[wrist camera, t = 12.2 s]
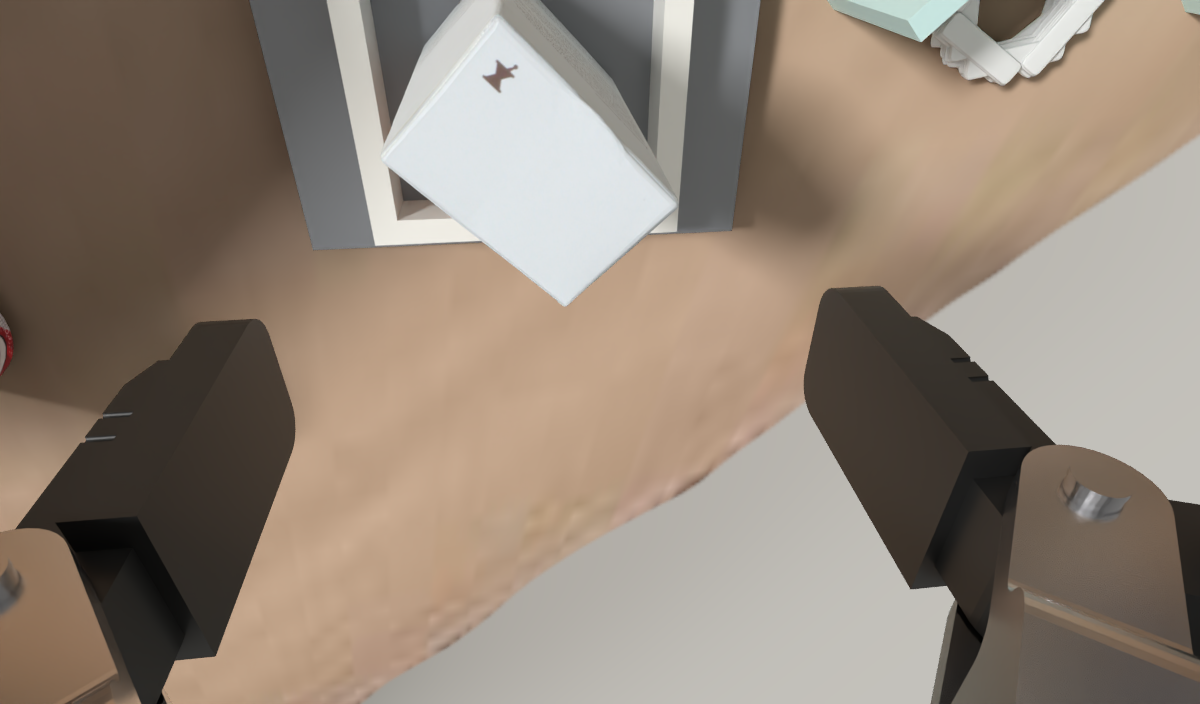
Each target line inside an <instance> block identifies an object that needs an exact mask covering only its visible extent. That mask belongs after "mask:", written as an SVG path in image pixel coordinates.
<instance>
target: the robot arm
mask: <svg viewBox="0 0 1200 704" xmlns="http://www.w3.org/2000/svg"><path fill="white" fill-rule="evenodd" d="M804 394H805V400H806V404H807V407H808V410H809V413H810V415H811V416H812V418H813V420H814V422H815V423H816V425H817V427H818V429H819V430H820V432H821V434H822V435H823V437H824V439H825V441H826V443H827V444H828V446H829V448H830V450H831V451H832V453H833V455H834V456H835V458H836V460H837V461H838V463H839V465H840V467H841V469H842V471H843V472H844V474H845V476H846V477H847V479H848V481H849V483H850V484H851V486H852V488H853V490H854V491H855V493H856V495H857V497H858V498H859V500H860V502H861V504H862V505H863V507H864V509H865V511H866V512H867V514H868V516H869V518H870V519H871V521H872V523H873V525H874V526H875V528H876V530H877V532H878V533H879V535H880V537H881V539H882V540H883V542H884V544H885V545H886V547H887V549H888V551H889V553H890V554H891V556H892V558H893V559H894V561H895V563H896V565H897V566H898V568H899V570H900V572H901V573H902V575H903V577H904V578H905V580H906V582H907V584H908V585H909V587H910V589H919V588H929V587H939V586H947V587H948V588H949V590H950V591H951V593H952V594H953V596H954V598H955V601H954V603H953V605H952V607H951V609H950V611H949V614H948V617H947V622H946V628H945V632H944V638H943V643H942V648H941V653H940V658H939V664H938V669H937V674H936V679H935V685H934V689H933V694H932V700H931V704H1200V505H1198V504H1192V503H1185V502H1179V501H1172V500H1168V499H1167V497H1166V496H1165V495H1164V494H1163V492H1162V491H1161V490H1160V489H1159V488H1158V487H1157V486H1156V485H1155V484H1154V483H1153V482H1152V481H1151V480H1149V479H1148V478H1147V477H1145V476H1144V475H1143V474H1141V473H1140V472H1138V471H1137V470H1135V469H1134V468H1132V467H1131V466H1129V465H1127V464H1125V463H1123V462H1121V461H1119V460H1117V459H1115V458H1112V457H1110V456H1108V455H1105V454H1102V453H1100V452H1097V451H1094V450H1090V449H1086V448H1082V447H1076V446H1070V445H1056V444H1055V443H1054V442H1053V441H1052V440H1051V439H1050V438H1049V437H1048V436H1047V435H1046V434H1045V433H1044V432H1043V431H1042V430H1041V429H1040V428H1039V427H1038V426H1037V425H1036V424H1035V423H1034V422H1033V421H1032V420H1031V419H1030V418H1029V417H1028V416H1027V415H1026V414H1025V413H1024V411H1022V410H1021V408H1020V407H1019V406H1018V405H1017V404H1016V403H1014V401H1013V400H1012V399H1011V398H1010V397H1009V396H1008V395H1007V394H1006V393H1005V392H1004V391H1003V390H1002V389H1001V388H1000V387H999V386H998V385H997V384H996V383H995V382H994V381H989V380H988V375H987V374H986V373H985V372H984V371H983V370H982V369H981V368H980V367H979V366H978V365H977V363H976V362H971V361H970V356H968V354H967V353H966V352H965V351H964V350H963V349H962V348H961V347H960V346H959V345H958V344H957V343H956V342H955V341H954V340H953V339H952V338H951V337H950V336H949V335H948V334H946V333H944V332H942V331H941V330H939V329H937V328H936V327H934V326H932V325H930V324H929V323H927V322H925V321H923V320H922V319H920V318H918V317H911V316H910V315H909V314H908V313H907V312H906V311H905V310H904V309H903V308H902V306H901V305H900V304H899V303H898V302H897V301H896V300H895V299H894V298H893V297H892V296H891V295H890V294H889V293H888V291H887V290H885V289H884V288H883V287H881V286H866V287H848V288H831V289H828V290H827V291H826V292H825V293H824V294H823V296H822V298H821V301H820V304H819V309H818V313H817V318H816V323H815V327H814V332H813V337H812V341H811V346H810V350H809V355H808V360H807V364H806V369H805V374H804ZM85 438H86V442H85V443H80V444H79V446H78V447H77V448H76V450H75V451H74V452H73V453H72V455H71V456H70V457H69V459H68V460H67V461H66V463H65V464H64V465H63V467H62V468H61V469H60V471H59V472H58V473H57V475H56V476H55V477H54V479H53V480H52V481H51V483H50V484H49V485H48V487H47V488H46V489H45V490H44V492H43V493H42V494H41V496H40V497H39V498H38V500H37V501H36V502H35V504H34V505H33V506H32V508H31V509H30V510H29V512H28V513H27V514H26V516H25V517H24V518H23V520H22V521H21V522H20V524H19V525H18V526H17V528H16V529H14V530H9V531H4V532H0V704H172V701H171V699H170V698H169V696H168V694H167V693H166V691H165V690H164V688H163V687H164V685H165V682H166V680H167V678H168V675H169V673H170V671H171V668H172V666H173V664H174V661H175V660H185V659H195V658H204V657H214V656H216V654H217V651H218V648H219V646H220V643H221V640H222V637H223V635H224V632H225V629H226V627H227V624H228V621H229V619H230V616H231V613H232V611H233V608H234V605H235V603H236V600H237V597H238V595H239V592H240V589H241V587H242V584H243V581H244V579H245V576H246V573H247V571H248V568H249V565H250V563H251V560H252V557H253V555H254V552H255V549H256V547H257V544H258V541H259V539H260V536H261V533H262V530H263V528H264V525H265V522H266V520H267V517H268V514H269V512H270V509H271V506H272V504H273V501H274V498H275V496H276V493H277V490H278V488H279V485H280V482H281V480H282V477H283V474H284V472H285V469H286V466H287V464H288V461H289V458H290V456H291V453H292V450H293V446H294V440H295V417H294V411H293V407H292V403H291V400H290V397H289V394H288V391H287V388H286V385H285V382H284V379H283V376H282V373H281V370H280V366H279V363H278V360H277V357H276V354H275V351H274V348H273V345H272V342H271V339H270V336H269V333H268V331H267V329H266V327H265V325H264V324H263V323H262V322H261V321H260V320H258V319H246V320H228V321H210V322H199V323H197V324H195V325H194V326H193V327H192V328H191V330H190V331H189V333H188V334H187V336H186V337H185V338H184V340H183V341H182V343H181V344H180V346H179V347H178V348H177V350H176V351H175V353H174V354H173V355H172V357H171V358H170V360H164V361H157V362H156V363H155V364H153V365H152V366H150V367H149V368H148V369H146V370H145V371H143V372H142V373H141V374H139V375H138V376H136V377H135V378H134V379H132V380H131V381H130V382H128V383H127V384H125V385H124V386H123V387H122V389H121V390H120V391H119V393H118V394H117V395H116V397H115V398H114V399H113V401H112V402H111V403H110V405H109V406H108V407H107V409H106V410H105V411H104V413H103V419H98V420H97V422H96V423H95V424H94V426H93V427H92V428H91V430H90V431H89V432H88V434H87V435H86V436H85Z"/></svg>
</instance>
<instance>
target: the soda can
mask: <svg viewBox="0 0 1200 704" xmlns="http://www.w3.org/2000/svg"><path fill="white" fill-rule="evenodd" d="M13 349H14V347H13V338H12V335H11V332H10V329H9V327H8V325H7V323H6V321H5V319H4V317H3V316H2V315H1V313H0V376H1V375H2V373H3V372H4V371H5V370H6V368H7V367H8V366H9V364H10V361H11V359H12V356H13Z"/></svg>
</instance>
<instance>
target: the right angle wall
mask: <svg viewBox="0 0 1200 704" xmlns="http://www.w3.org/2000/svg"><path fill="white" fill-rule="evenodd" d="M827 1H828V2H829V3H830V5H831V6H832V8H833V9H834V10H836V11H839V12H842V13H844V14H847V15H850V16H852V17H855V18H858V19H860V20H863V21H866V22H868V23H871V24H874V25H876V26H879V27H882V28H884V29H887V30H889V31H892V32H895V33H897V34H900V35H903V36H905V37H908V38H911V39H913V40H916V41H919V42H922V41H923V40H924V39H925V38H927V37H928V36H929V35H930V34H931V33H932V37H931V42H930V44H931V47H938V48H941V50H940V56H941V57H942V61H943V64H944V65H948V66H949V67H951V68H952V67H957V68H958V70H959V73H960V74H961V76H962V77H963V78H965V79H967V80H973V79H977V78H982V77H984V78H985V79H986V80H988V81H989V82H995V83H997V84H999V85H1001V86H1004V85H1006V84H1007V83H1008V82H1009V81H1010V80H1011V79H1012V78H1013V77H1014V76H1015V75H1016V74H1017V73H1020V74H1021V75H1022V76H1024V77H1027V78H1030V77H1032V76H1033V77H1034V76H1036V75H1038V74H1039V73H1040V72H1041V71H1042V70H1043V69H1044V68H1045V67H1046V66H1047V64H1048V63H1050V62H1054V61H1058V60H1060V59H1061V58H1062V56H1063V54H1064V51H1065V46H1066V43H1067V42H1068V41H1069V40H1070V39H1071V38H1072V36H1073V35H1075V34H1081V33H1084V32H1087V31H1088V29H1089V28H1090V25H1091V20H1092V16H1093V13H1094V12H1095V11H1096V10H1097V9H1098V7H1099V6H1100V5H1101V4H1102V3H1103V2H1104V1H1105V0H1046V1H1045V4H1044V7H1043V10H1042V13H1041V16H1039V17H1038V18H1037V19H1036V20H1034V21H1033V22H1032V23H1030V24H1029V25H1028V26H1027V27H1025V28H1024V29H1023V30H1022V31H1020V32H1019V33H1018V34H1017V35H1015V36H1014V37H1013V38H1012V39H1009V40H1005V41H1001V42H995V41H994V40H993V39H992V38H991V37H990V36H988V35H987V34H986V33H985V32H984V31H983V30H981V29H980V28H979V27H978V26H977V23H978V14H979V5H980V0H827ZM1181 1H1182V3H1183V6H1184V9H1185V12H1188V13H1194V14H1199V15H1200V0H1181Z"/></svg>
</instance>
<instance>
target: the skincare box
mask: <svg viewBox="0 0 1200 704" xmlns="http://www.w3.org/2000/svg"><path fill="white" fill-rule="evenodd" d="M381 161H382V162H383V163H384V164H385V165H386V166H388V167H389V168H390V169H391V170H393V171H394V172H395V173H396V174H398V175H399V176H400V177H401V178H403V179H404V180H405V181H406V182H407V183H409V184H410V185H411V186H412V187H414V188H415V189H416V190H417V191H419V192H420V193H421V194H422V195H424V196H425V197H426V198H427V199H429V200H430V201H431V202H433V203H434V204H435V205H436V206H438V207H439V208H440V209H441V210H443V211H444V212H445V213H446V214H448V215H449V216H450V217H451V218H452V219H454V220H455V221H456V222H458V223H459V224H460V225H461V226H463V227H464V228H465V229H466V230H468V231H469V232H470V233H472V234H473V235H474V236H475V237H477V238H478V239H479V240H481V241H482V242H483V243H485V244H486V245H487V246H488V247H490V248H491V249H492V250H494V251H495V252H496V253H498V254H499V255H500V256H501V257H503V258H504V259H505V260H507V261H508V262H509V263H510V264H512V265H513V266H514V267H516V268H517V269H518V270H519V271H521V272H522V273H523V274H524V275H525V276H527V277H528V278H529V279H530V280H532V281H533V282H534V283H536V284H537V285H538V286H539V287H541V288H542V289H543V290H544V291H546V292H547V293H548V294H549V295H551V296H552V297H553V298H554V299H556V300H557V301H558V302H559V303H560V304H561V305H563V306H568V305H569V304H570V303H571V302H572V301H573V300H574V299H575V298H576V297H577V296H578V295H580V294H581V293H582V292H583V291H584V290H585V289H586V288H588V287H589V286H590V285H591V284H592V283H593V282H594V281H596V280H597V279H598V278H599V277H600V276H601V275H602V274H604V273H605V272H606V271H607V270H608V269H609V268H610V267H612V266H613V265H614V264H615V263H616V262H617V261H618V260H619V259H621V258H622V257H623V256H624V255H625V254H626V253H627V252H629V251H630V250H631V249H632V248H633V247H634V246H635V245H636V244H638V243H639V242H640V241H641V240H642V239H643V238H644V237H646V236H647V235H648V234H649V233H650V232H651V231H652V230H653V229H655V228H656V227H657V226H658V225H659V224H660V223H661V222H662V221H664V220H665V219H666V218H667V217H668V216H669V215H670V214H672V213H673V212H674V211H675V210H676V209H677V208H678V206H679V200H678V198H677V197H676V195H675V193H674V191H673V189H672V187H671V186H670V184H669V182H668V180H667V178H666V176H665V175H664V173H663V171H662V169H661V167H660V165H659V163H658V161H657V159H656V157H655V156H654V154H653V152H652V150H651V148H650V147H649V145H648V143H647V141H646V139H645V138H644V136H643V134H642V132H641V130H640V129H639V127H638V125H637V123H636V122H635V120H634V118H633V116H632V114H631V113H630V111H629V109H628V107H627V105H626V104H625V102H624V100H623V98H622V96H621V94H620V92H619V90H618V89H617V87H616V85H615V83H614V81H613V80H612V78H611V77H610V76H609V75H608V74H607V73H606V72H605V70H604V69H603V68H602V67H601V66H600V65H599V64H598V63H597V62H596V60H595V59H594V58H593V57H592V56H591V55H590V54H589V53H588V52H587V50H586V49H585V48H584V47H583V46H582V45H581V44H580V43H579V42H578V41H577V40H576V38H575V37H574V36H573V35H572V34H571V33H570V32H569V31H568V30H567V29H566V28H565V26H564V25H563V24H562V23H561V22H560V21H559V20H558V19H557V18H556V17H555V16H554V14H553V13H552V12H551V11H550V10H549V9H548V8H547V7H546V6H545V5H544V4H543V3H542V2H541V1H540V0H461V1H460V2H459V3H458V4H457V6H456V7H455V8H454V9H453V10H452V12H451V13H450V14H449V15H448V17H447V18H446V19H445V20H444V22H443V23H442V24H441V25H440V27H439V28H438V29H437V31H436V32H435V33H434V34H433V36H432V37H431V38H430V39H429V40H428V42H427V43H426V44H425V45H424V47H423V50H422V53H421V55H420V57H419V59H418V62H417V64H416V67H415V69H414V72H413V74H412V77H411V79H410V82H409V84H408V86H407V89H406V91H405V94H404V97H403V99H402V102H401V104H400V106H399V109H398V111H397V114H396V116H395V119H394V121H393V124H392V127H391V130H390V132H389V134H388V137H387V139H386V141H385V143H384V146H383V148H382V151H381Z"/></svg>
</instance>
